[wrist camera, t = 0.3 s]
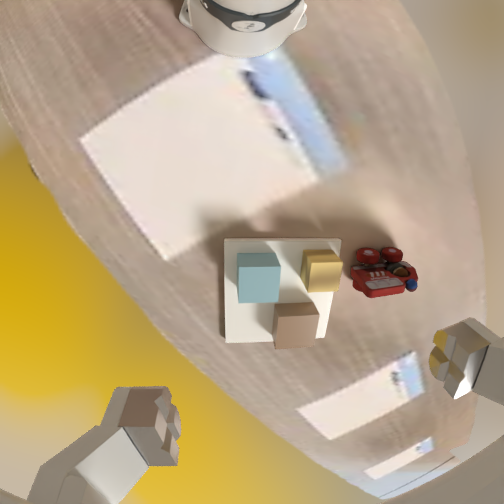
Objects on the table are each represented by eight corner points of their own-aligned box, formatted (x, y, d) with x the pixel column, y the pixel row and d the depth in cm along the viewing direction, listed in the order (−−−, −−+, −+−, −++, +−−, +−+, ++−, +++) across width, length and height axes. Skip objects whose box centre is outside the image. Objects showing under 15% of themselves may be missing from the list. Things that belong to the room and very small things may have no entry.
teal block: (237, 253, 46) (238, 267, 42) (275, 252, 47) (281, 266, 42) (236, 286, 49) (238, 303, 44) (272, 286, 49) (278, 302, 45)
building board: (224, 238, 46) (224, 251, 42) (339, 238, 48) (350, 250, 44) (225, 338, 54) (226, 357, 49) (322, 333, 56) (330, 350, 51)
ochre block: (303, 249, 47) (311, 262, 43) (332, 249, 48) (343, 262, 43) (300, 277, 49) (307, 292, 45) (328, 276, 50) (338, 291, 45)
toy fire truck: (397, 278, 53) (425, 305, 44) (341, 283, 52) (364, 315, 43) (404, 245, 50) (435, 269, 41) (346, 247, 49) (372, 275, 40)
